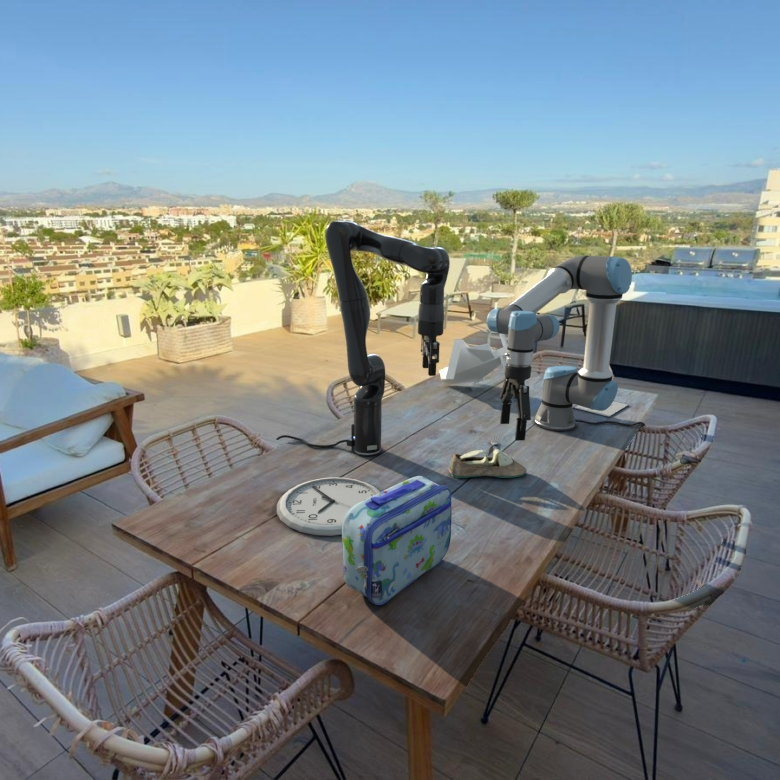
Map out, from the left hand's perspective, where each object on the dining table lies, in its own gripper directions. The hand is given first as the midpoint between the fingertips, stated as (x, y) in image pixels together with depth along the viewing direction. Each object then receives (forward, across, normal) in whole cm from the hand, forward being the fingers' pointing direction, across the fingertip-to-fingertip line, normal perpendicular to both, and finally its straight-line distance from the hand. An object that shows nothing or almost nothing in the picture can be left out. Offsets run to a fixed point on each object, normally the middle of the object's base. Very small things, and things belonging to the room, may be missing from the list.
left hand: (428, 371), depth 158 cm
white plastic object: (+31, -74, +42) cm, 91 cm away
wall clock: (+31, +21, -30) cm, 49 cm away
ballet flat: (+31, +8, +18) cm, 37 cm away
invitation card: (+31, -50, +88) cm, 106 cm away
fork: (+31, -11, +26) cm, 42 cm away
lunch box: (+31, +54, -17) cm, 65 cm away
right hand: (+18, +7, +25) cm, 32 cm away
